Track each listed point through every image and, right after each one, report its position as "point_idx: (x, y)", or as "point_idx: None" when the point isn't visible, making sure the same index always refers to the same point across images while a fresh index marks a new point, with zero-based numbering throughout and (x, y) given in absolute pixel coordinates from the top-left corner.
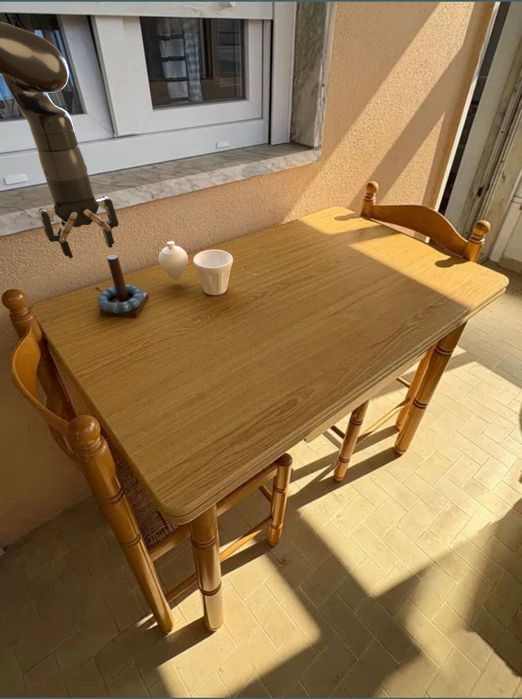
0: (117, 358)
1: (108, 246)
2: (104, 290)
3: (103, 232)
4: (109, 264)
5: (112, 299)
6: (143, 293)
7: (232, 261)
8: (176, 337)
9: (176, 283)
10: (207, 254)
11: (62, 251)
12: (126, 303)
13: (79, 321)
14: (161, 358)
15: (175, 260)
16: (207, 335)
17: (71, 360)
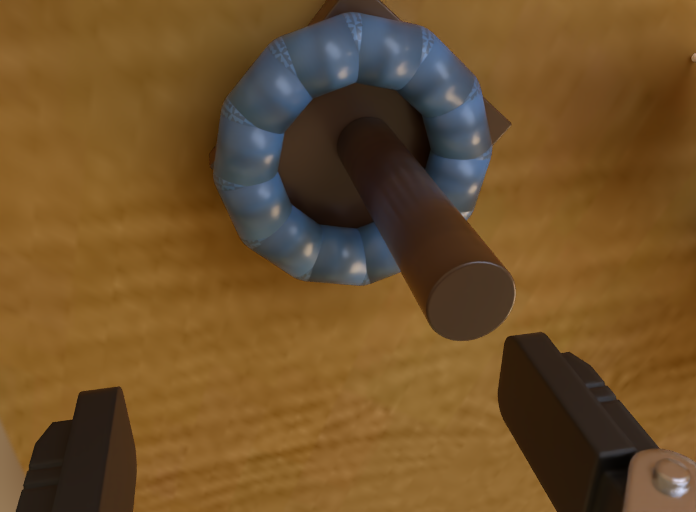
0: (203, 465)
1: (503, 390)
2: (293, 76)
3: (577, 448)
4: (412, 292)
5: None
6: (489, 122)
7: None
8: (440, 437)
9: (691, 59)
10: None
11: (34, 453)
12: (359, 280)
13: (80, 151)
14: (343, 509)
15: None
16: None
17: (19, 417)
